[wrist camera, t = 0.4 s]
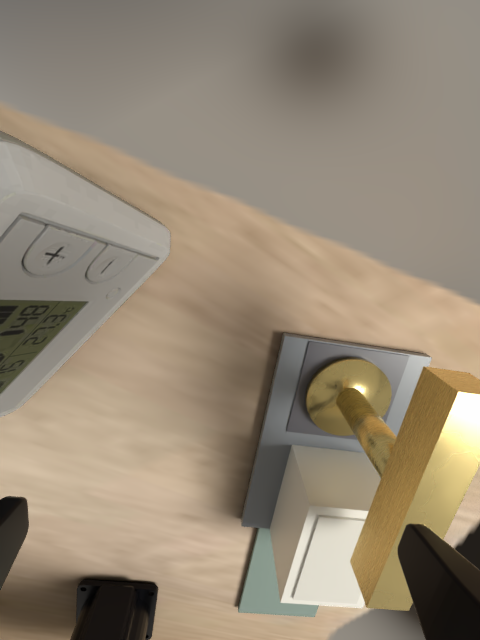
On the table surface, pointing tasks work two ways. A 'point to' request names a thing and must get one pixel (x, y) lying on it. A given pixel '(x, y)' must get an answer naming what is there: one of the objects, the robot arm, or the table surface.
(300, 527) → the cover
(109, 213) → the digital clock
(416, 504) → the brass door handle
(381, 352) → the base plate
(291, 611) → the pad
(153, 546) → the table surface
